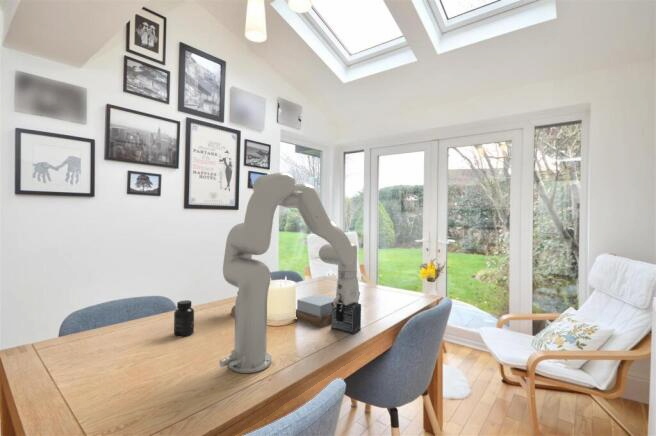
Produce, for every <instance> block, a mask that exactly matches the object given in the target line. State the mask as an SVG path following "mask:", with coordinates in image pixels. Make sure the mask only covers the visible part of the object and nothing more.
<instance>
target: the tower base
mask: <svg viewBox="0 0 656 436" xmlns="http://www.w3.org/2000/svg"><path fill="white" fill-rule="evenodd" d="M295 310H296V317H297V320H296V321H299V322H301V323H305V324H309V325H312V326H314V327H317V328H324V327H326V326H328V325H330V324H331V320H332V319H331V318H332V313H329V314H326V315H324V316H321V317H319V316H315V315H312V314H309V313H305V312H302V311H298V310H297V309H295Z"/></svg>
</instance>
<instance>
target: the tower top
mask: <svg viewBox="0 0 656 436" xmlns="http://www.w3.org/2000/svg"><path fill="white" fill-rule="evenodd" d="M335 298H336V297H333V296H328V295H324V294H319V293H316V294H312V295H308V296H306V297H302V298H299V299H297V302H296V303H297V307H296V308H297V310H298V311H302V312H305V313H309V314H312V315H315V316H319V317H321V316H324V315H326V314H329V313H332V303H333V300H334V299H335Z"/></svg>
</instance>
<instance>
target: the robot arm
mask: <svg viewBox="0 0 656 436" xmlns="http://www.w3.org/2000/svg"><path fill="white" fill-rule="evenodd" d="M252 191H253V192H252V194H251V195H250V198H249V200H248V202H247V205H246V209H245V210H246V211H245V214H244V221H243V222H241V223H237V224H235V225H234V226H233V227H232V228H231V229H230V230H229V232H228V235H227V237H226V242H225V249H224V255H223V263H222V275H223V278H224V280H225V281H226V282H227V283H228V284H229V285H231V286H234V287H235V288H238V291H237V292H238V294H236V298H235V301H234V302H235V303H234V306H235V317H234V343H233V344H234V346H233V347H234V349H233V350H231V351H230V355H228V357H225V358H223V359H220V360H219V366H220V367H221V368H223V367H225V366H228V367H229V368H230V370H231V371H233V372H236V373H240V374H251V373H257V372H260V371H264V370H265V369H266V368H268V367H269V366H270V365H271V364H272V356H271V354H270V353H269V352H267V349H268V348H267V345H268V342H267V341H268V336H267V333H268V297H269V296H268V295H269V289H270V284H271V280H272V279H271V271H270V268H269V266H267V264H266V263H265V262H263V261H261V260H257V259H255V258H252V257H253V256H261V255H264V254H266V253H267V252H268V250H269V248H270V245H271V239H272V233H273V232H272V231H273V224H274V222H273V221H274V217H275V212H276V209H277V207H278V206H280V207H283V208H289V209H297V210H298V213H299V214H300V217H301V218H302V220H303V222H304V224H305V226H306V228H307V229H308V231H310V232H312V233H313V234H314V235H316V236H318V237H319V238H322V239H323V240H324V241H326V242H327V243H326V244H324V245H321V247H320V249H319V250H318V257H319V259H320V260H321V261H322V262H323V263H326V264H329V265H335V266H337V282H336V292H335V295H336V296H335V297H334V298H335V299H334V300H333V304H334V308H335V310H336V320H339V321H343V320H344V311H342V310H343V308H344V305H345V306H348V305H350V304H353V303H358V304H359V300H360V295H361V292H360V289H359V288H360V287H359V286H360V285H359V278H358V246H357V245H356V244H355V243H351V241H350V239H349V237H348V235H347V234H346V233H345V231H343V230H342V228H340V227H339V226H338V225H337V224H336V223H335V222H334V221H332V220H331V219H330V217H329V215H328V213H327V212H326V209H325V207H324V205H323V203H322V201H321V199H320V197H319V195H318V192H317V190H316V189H315V187H314V186H313V185H311V184H308V183H299V184H296V179H295V178H294V176H293V175H292V174H290V173H288V172H274V173H270V174H263V175H259V176H258V177H257V178H255V180H254V182H253V183H252ZM339 305H341V307H340V306H339Z"/></svg>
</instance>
